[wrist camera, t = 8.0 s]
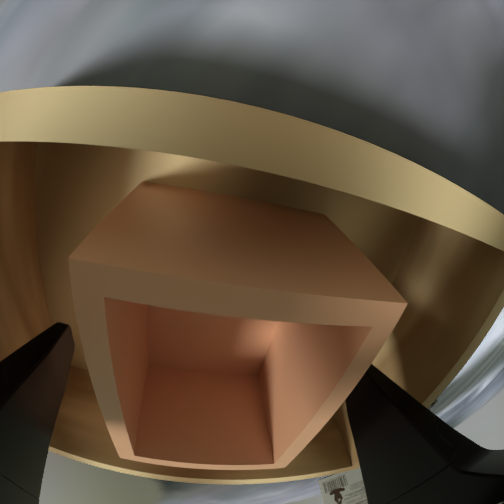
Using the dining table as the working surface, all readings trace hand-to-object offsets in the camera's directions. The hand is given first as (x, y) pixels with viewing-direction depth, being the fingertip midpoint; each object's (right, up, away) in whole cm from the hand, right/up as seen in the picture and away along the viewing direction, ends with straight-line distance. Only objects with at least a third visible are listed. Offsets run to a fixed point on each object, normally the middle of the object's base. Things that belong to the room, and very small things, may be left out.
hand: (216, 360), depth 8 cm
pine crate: (0, +2, +3) cm, 4 cm away
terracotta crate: (0, +1, +3) cm, 3 cm away
